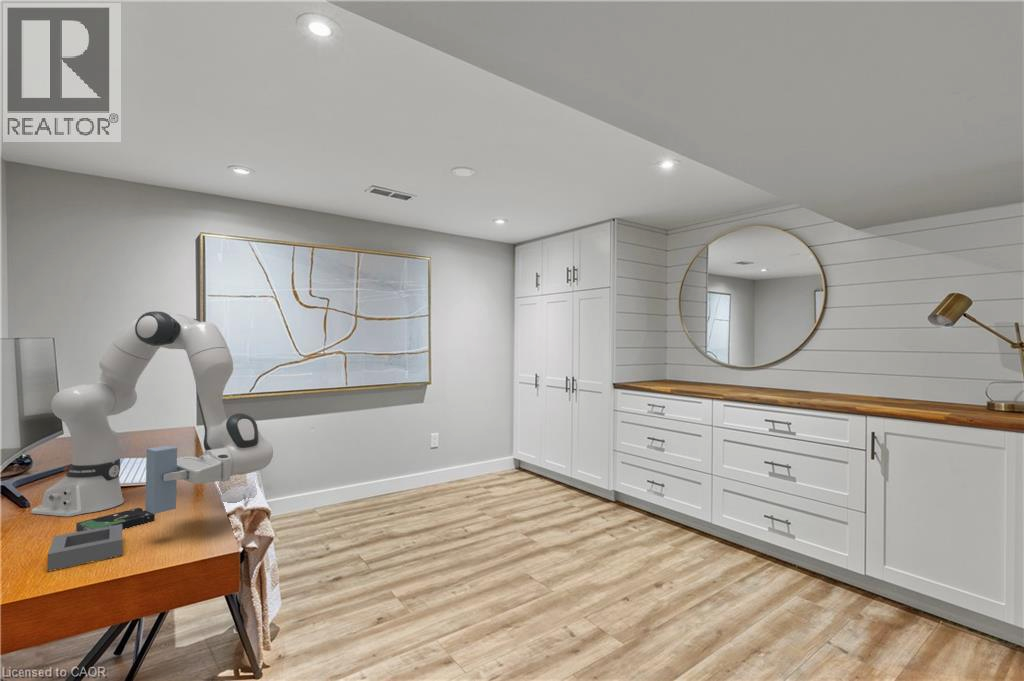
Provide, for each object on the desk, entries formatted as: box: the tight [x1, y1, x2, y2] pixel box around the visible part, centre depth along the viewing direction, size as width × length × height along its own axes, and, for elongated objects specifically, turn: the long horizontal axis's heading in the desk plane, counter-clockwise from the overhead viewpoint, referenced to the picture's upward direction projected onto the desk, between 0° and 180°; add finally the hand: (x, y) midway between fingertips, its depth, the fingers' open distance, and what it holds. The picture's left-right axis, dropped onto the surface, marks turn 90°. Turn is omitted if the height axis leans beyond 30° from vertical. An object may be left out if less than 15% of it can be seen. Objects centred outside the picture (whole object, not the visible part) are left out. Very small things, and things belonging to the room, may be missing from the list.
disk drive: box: [75, 507, 156, 532], centre depth 134 cm, size 10×3×15 cm
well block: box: [46, 524, 124, 572], centre depth 115 cm, size 13×13×4 cm
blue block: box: [144, 445, 178, 514], centre depth 124 cm, size 5×5×16 cm
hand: (157, 475), depth 123 cm, fingers closed on blue block, 5 cm apart
